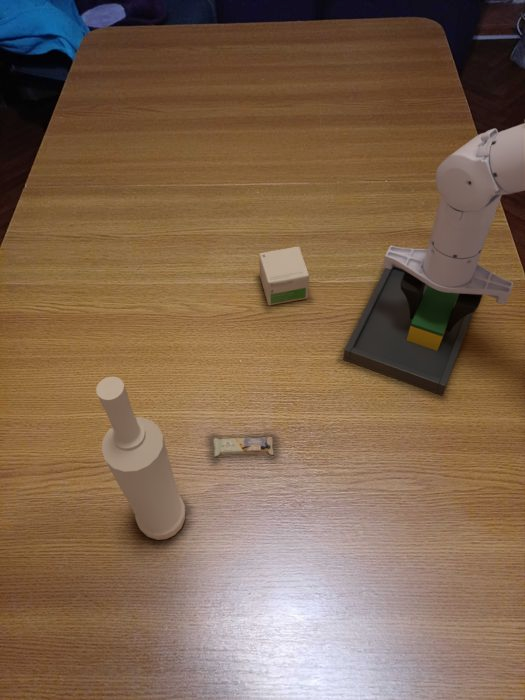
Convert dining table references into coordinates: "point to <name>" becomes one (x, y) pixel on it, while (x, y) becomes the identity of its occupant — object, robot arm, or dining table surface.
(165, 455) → the bottle
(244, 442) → the granola bar
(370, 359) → the tray
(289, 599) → the dining table surface
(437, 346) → the sponge
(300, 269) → the small box
